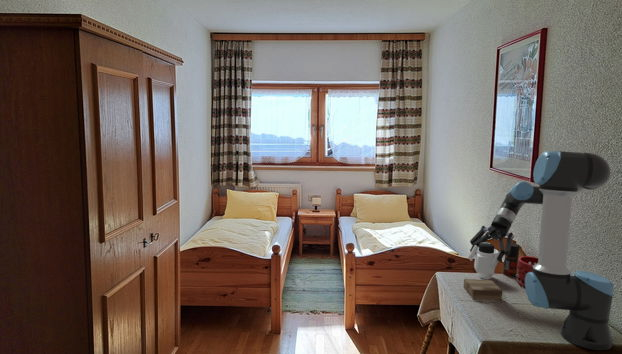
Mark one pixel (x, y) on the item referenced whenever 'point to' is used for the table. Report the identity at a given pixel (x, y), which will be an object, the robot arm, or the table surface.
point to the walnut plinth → (482, 289)
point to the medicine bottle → (484, 259)
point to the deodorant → (511, 261)
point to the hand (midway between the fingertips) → (481, 262)
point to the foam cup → (486, 276)
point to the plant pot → (525, 268)
